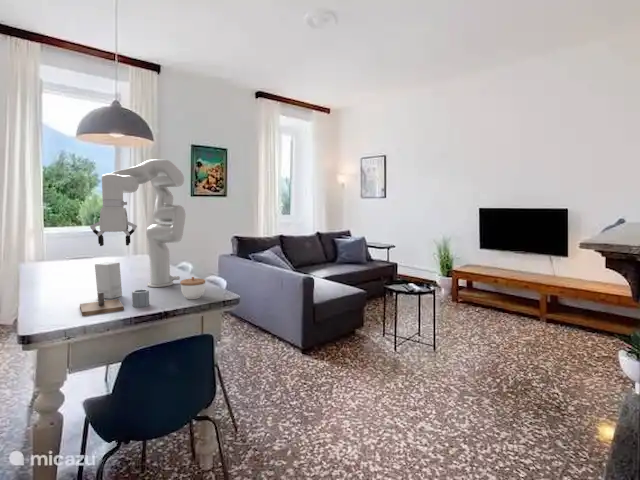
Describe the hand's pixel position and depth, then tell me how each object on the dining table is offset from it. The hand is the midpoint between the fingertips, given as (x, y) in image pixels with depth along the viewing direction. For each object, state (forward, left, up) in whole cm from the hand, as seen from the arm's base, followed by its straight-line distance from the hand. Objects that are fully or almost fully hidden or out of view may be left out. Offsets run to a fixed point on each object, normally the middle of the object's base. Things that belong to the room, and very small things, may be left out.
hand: (114, 245), depth 158 cm
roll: (-8, +9, -25) cm, 27 cm away
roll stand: (+6, +6, -25) cm, 26 cm away
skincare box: (+1, -14, -25) cm, 29 cm away
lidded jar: (-30, +8, -25) cm, 40 cm away
